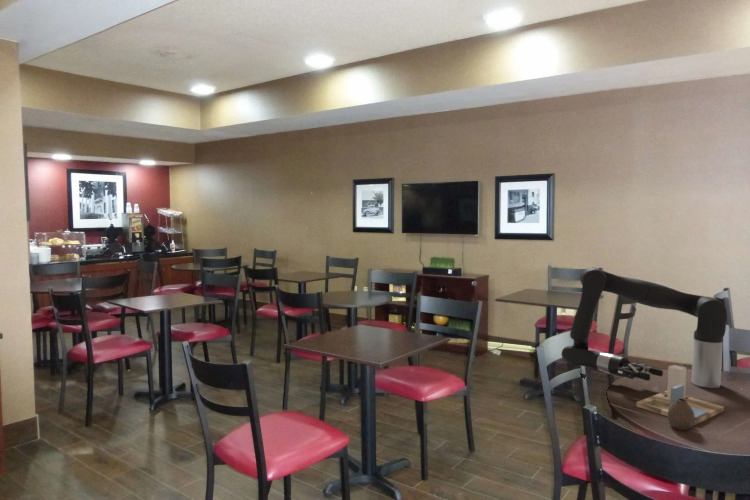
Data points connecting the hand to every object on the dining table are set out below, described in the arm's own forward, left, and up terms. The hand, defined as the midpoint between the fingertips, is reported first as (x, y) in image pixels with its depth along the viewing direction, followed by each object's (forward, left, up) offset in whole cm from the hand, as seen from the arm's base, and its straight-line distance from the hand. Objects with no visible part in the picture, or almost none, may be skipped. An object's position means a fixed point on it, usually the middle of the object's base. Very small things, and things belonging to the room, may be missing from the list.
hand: (656, 375), depth 181 cm
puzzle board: (+6, +11, -8) cm, 15 cm away
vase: (+21, +18, -8) cm, 28 cm away
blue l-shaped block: (+12, +16, -5) cm, 20 cm away
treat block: (0, +7, -7) cm, 10 cm away
